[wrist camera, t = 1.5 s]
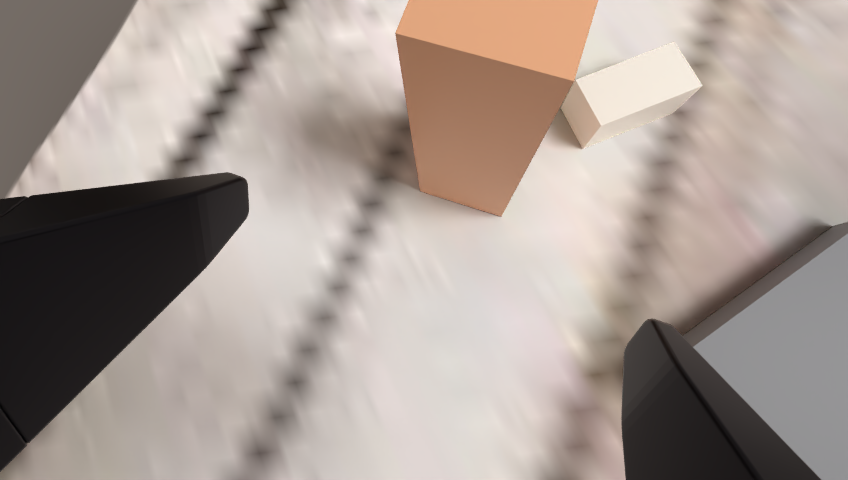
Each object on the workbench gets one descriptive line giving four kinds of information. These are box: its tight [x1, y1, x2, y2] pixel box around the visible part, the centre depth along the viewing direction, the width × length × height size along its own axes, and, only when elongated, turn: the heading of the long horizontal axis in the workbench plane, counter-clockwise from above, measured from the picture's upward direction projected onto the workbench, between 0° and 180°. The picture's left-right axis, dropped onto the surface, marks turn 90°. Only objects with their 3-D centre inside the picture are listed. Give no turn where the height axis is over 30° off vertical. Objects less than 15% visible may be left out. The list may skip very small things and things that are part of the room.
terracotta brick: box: [395, 0, 598, 216], centre depth 17 cm, size 5×5×13 cm
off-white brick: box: [561, 42, 703, 149], centre depth 23 cm, size 6×3×3 cm, turn 112°
